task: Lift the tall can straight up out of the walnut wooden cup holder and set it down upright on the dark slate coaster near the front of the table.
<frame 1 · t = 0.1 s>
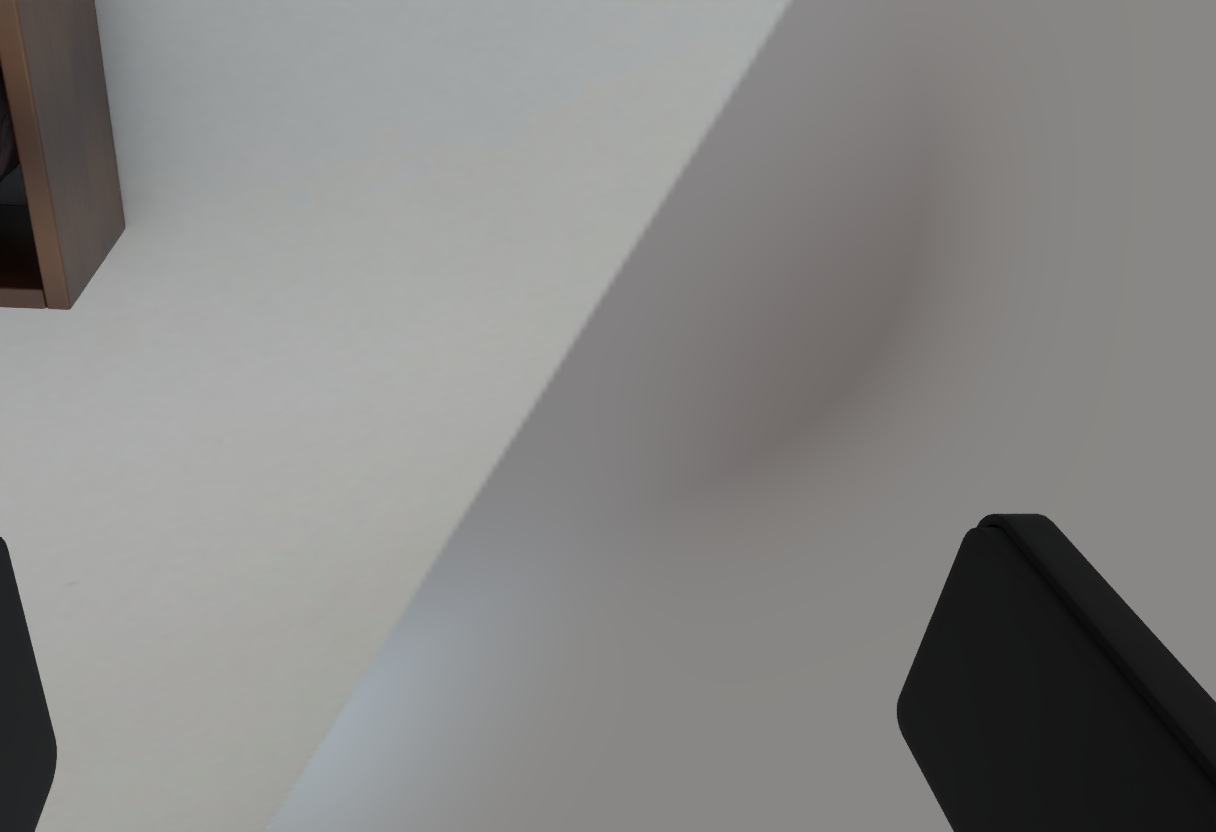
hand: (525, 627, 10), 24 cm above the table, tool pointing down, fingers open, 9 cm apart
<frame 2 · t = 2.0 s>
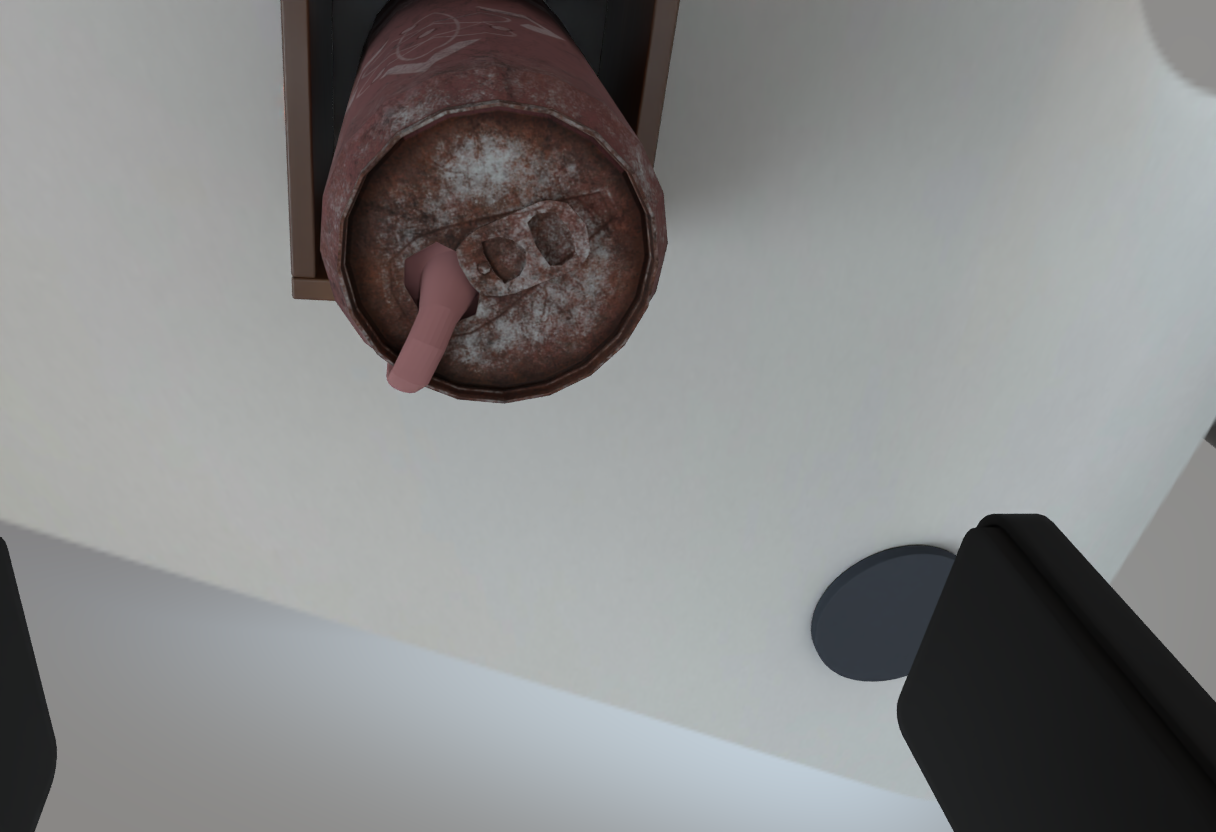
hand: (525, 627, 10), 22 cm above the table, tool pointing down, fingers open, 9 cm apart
holder: (468, 83, 28), on the table
can: (467, 81, 28), resting in holder
coaster: (892, 611, 43), on the table
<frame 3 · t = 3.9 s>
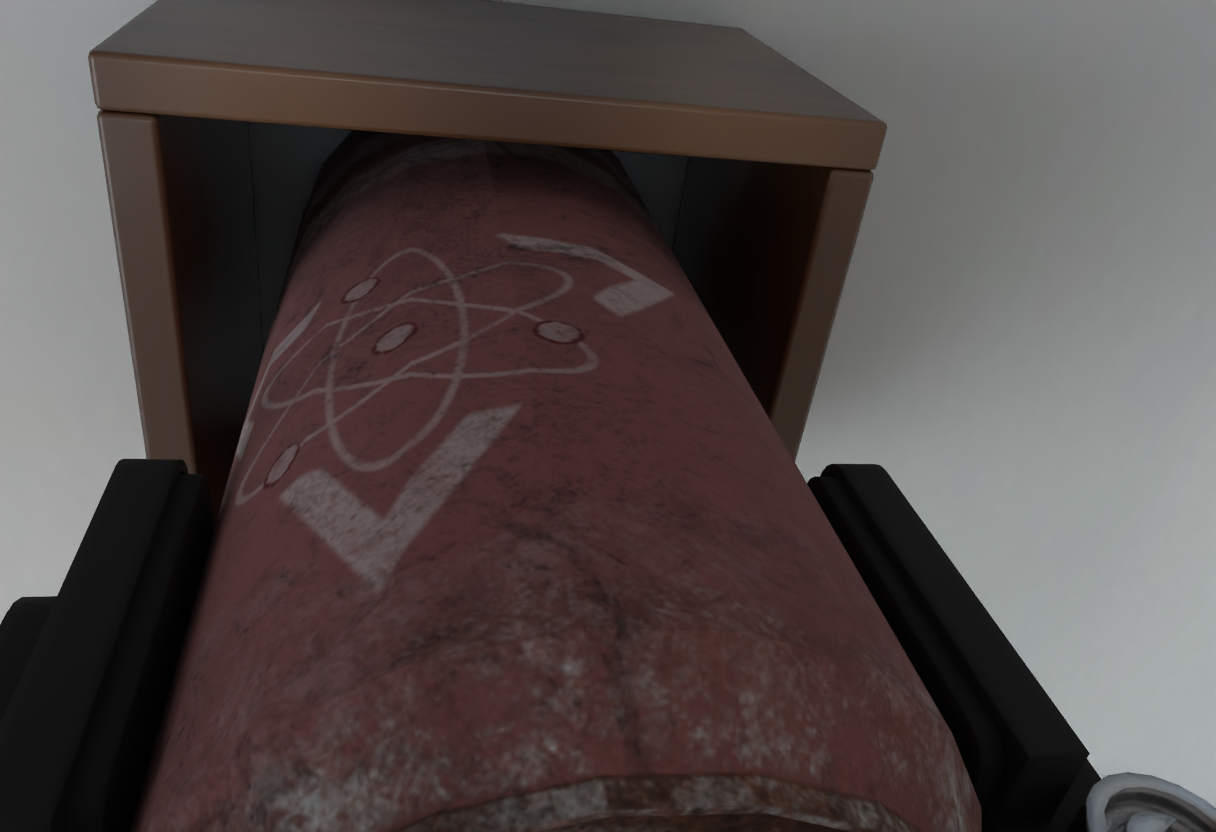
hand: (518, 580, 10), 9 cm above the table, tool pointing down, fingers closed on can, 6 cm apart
holder: (472, 254, 18), on the table
can: (472, 250, 18), resting in holder, touching gripper
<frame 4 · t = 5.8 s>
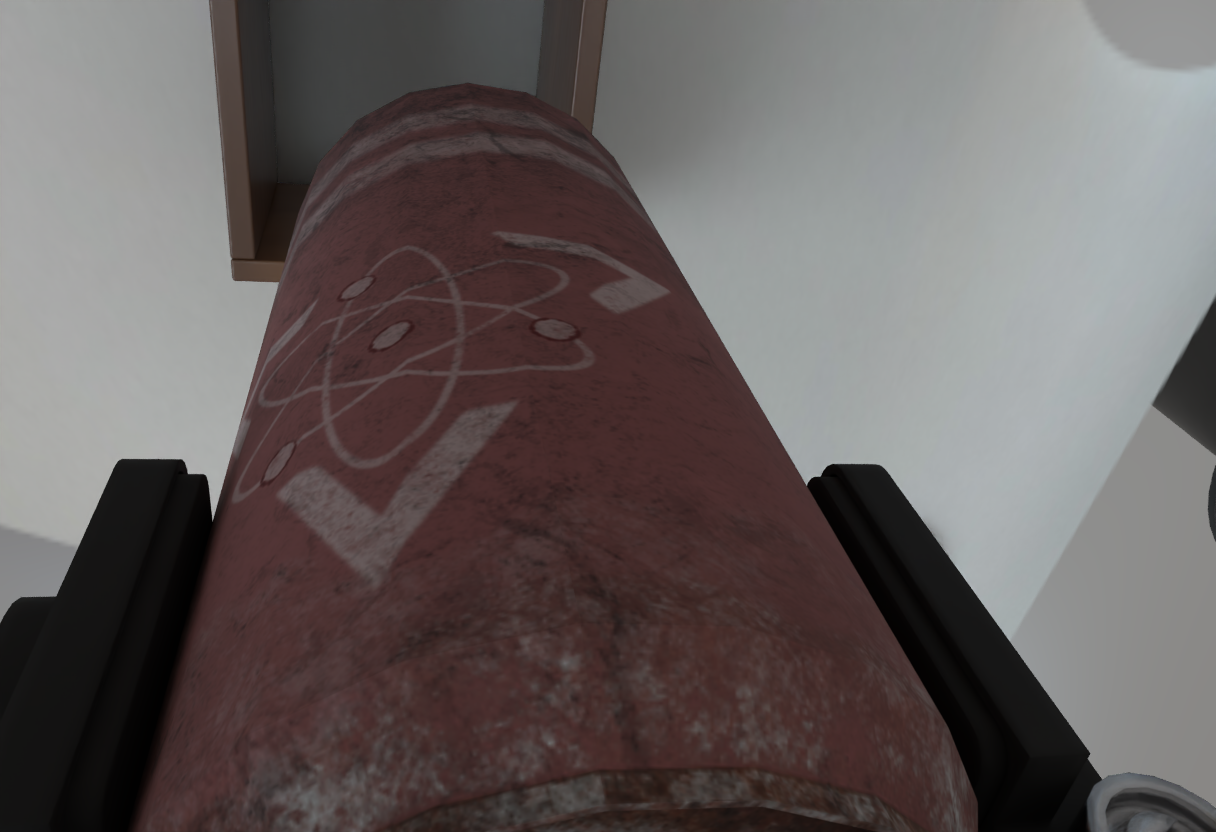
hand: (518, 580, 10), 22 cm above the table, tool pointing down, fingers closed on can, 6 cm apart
holder: (408, 63, 28), on the table
can: (468, 249, 18), point 13 cm above the table, touching gripper
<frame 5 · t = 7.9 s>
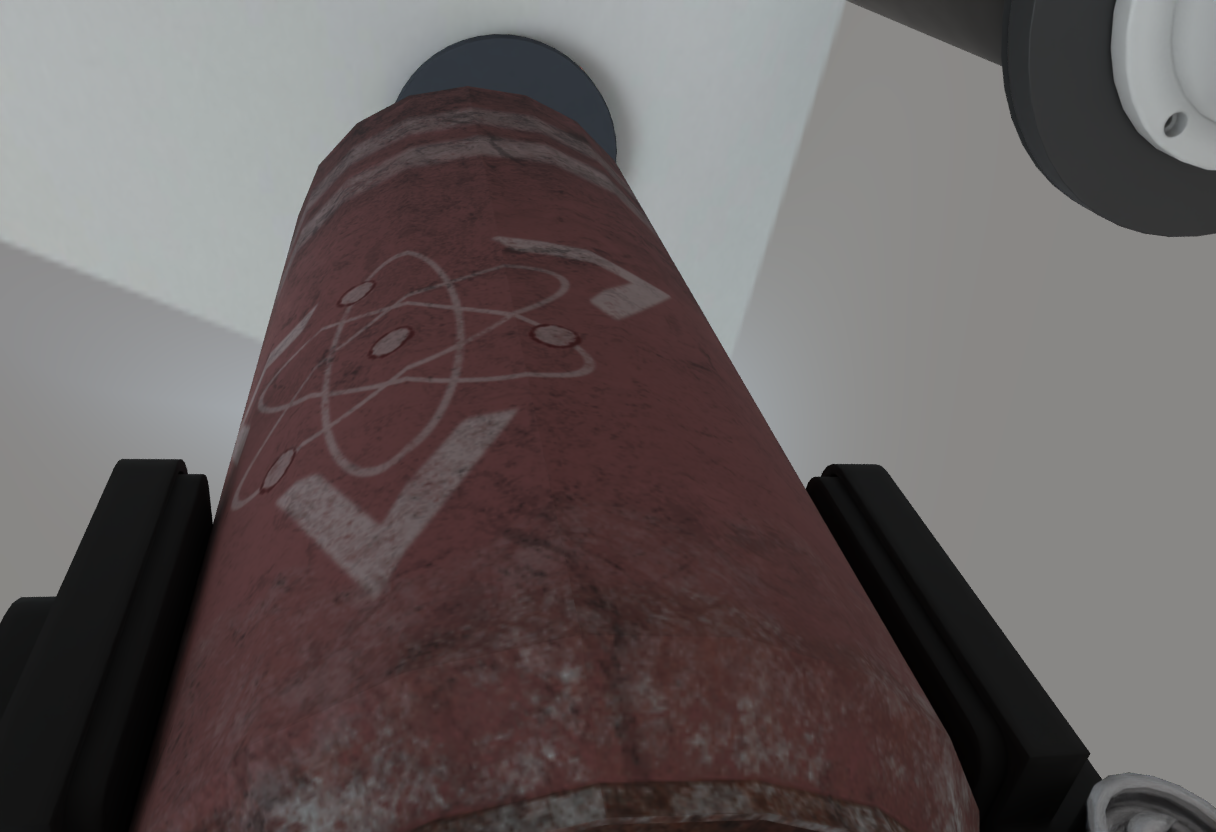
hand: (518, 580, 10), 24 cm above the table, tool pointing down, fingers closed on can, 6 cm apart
can: (468, 252, 18), point 15 cm above the table, touching gripper
coaster: (502, 153, 32), on the table
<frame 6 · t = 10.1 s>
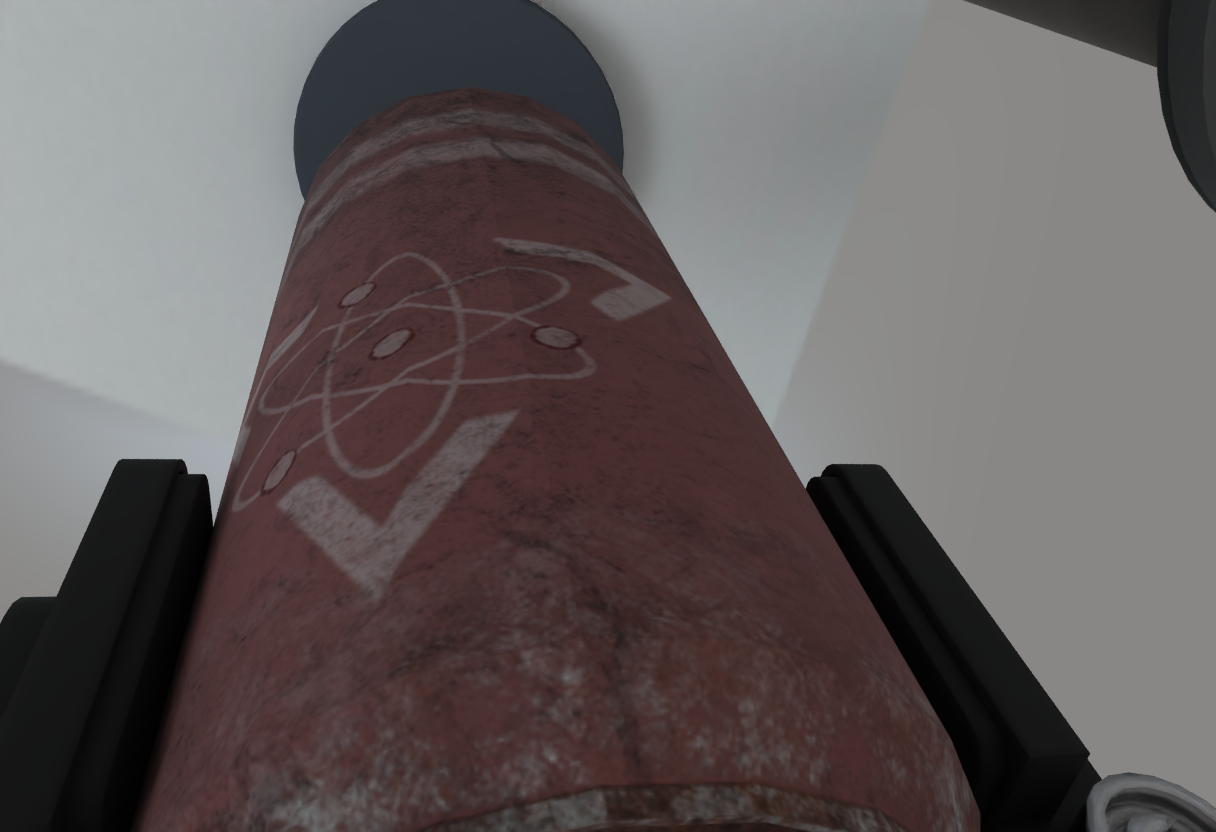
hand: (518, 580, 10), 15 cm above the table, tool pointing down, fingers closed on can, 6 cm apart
can: (468, 252, 18), point 6 cm above the table, touching gripper
coaster: (462, 154, 23), on the table
when the fingers open (10 cm above the table, at t = 11.9 s): can stays where it is, resting on coaster.
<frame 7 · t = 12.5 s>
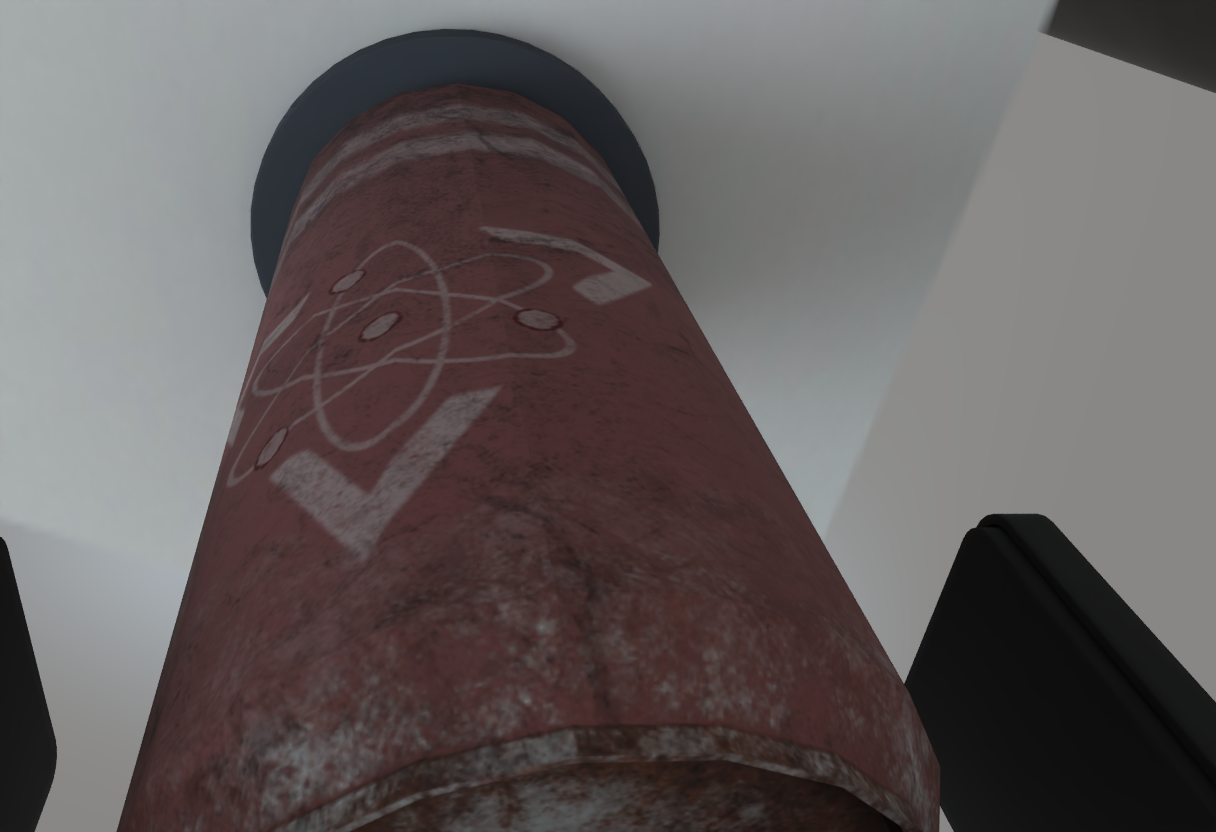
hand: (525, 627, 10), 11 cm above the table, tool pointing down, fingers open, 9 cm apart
can: (459, 246, 18), resting on coaster
coaster: (461, 236, 18), on the table
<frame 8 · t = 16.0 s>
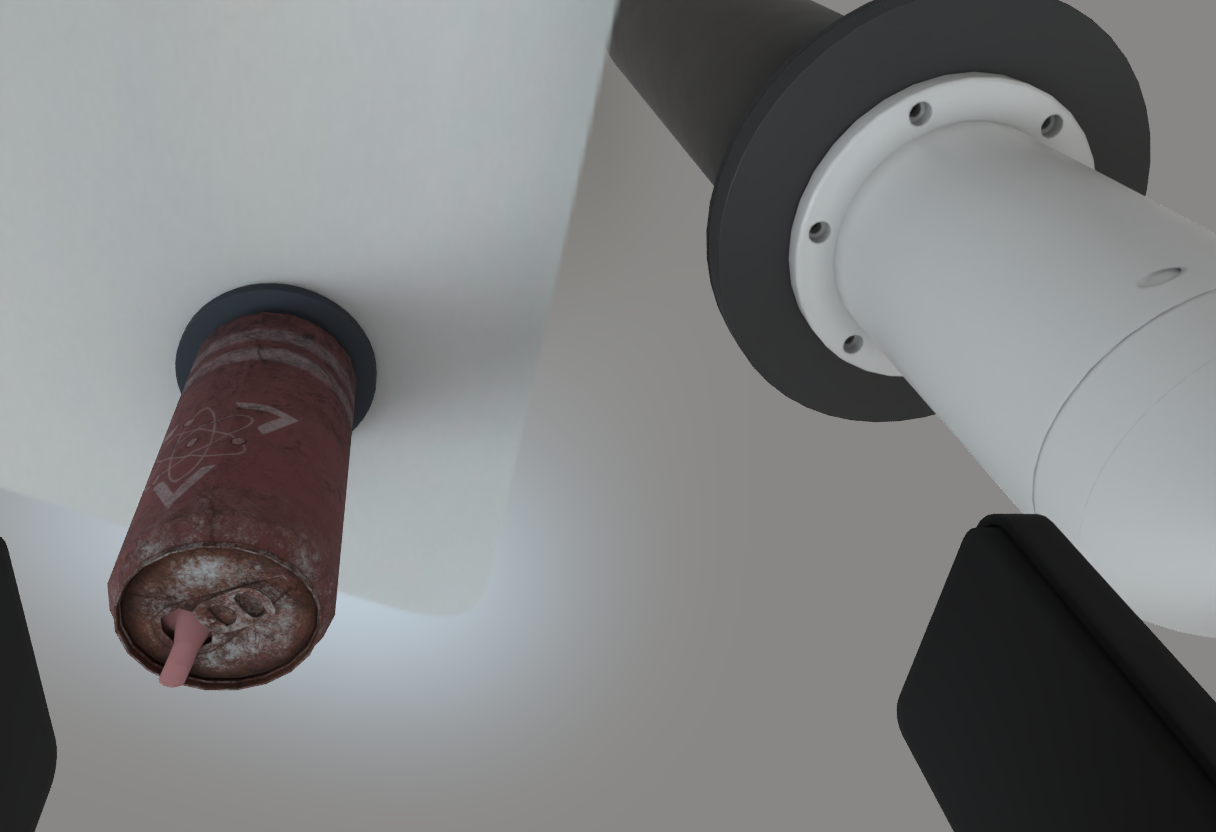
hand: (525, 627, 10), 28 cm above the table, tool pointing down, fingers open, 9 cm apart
can: (276, 375, 38), resting on coaster
coaster: (279, 369, 39), on the table
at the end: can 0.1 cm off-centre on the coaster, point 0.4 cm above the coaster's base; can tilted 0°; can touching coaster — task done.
